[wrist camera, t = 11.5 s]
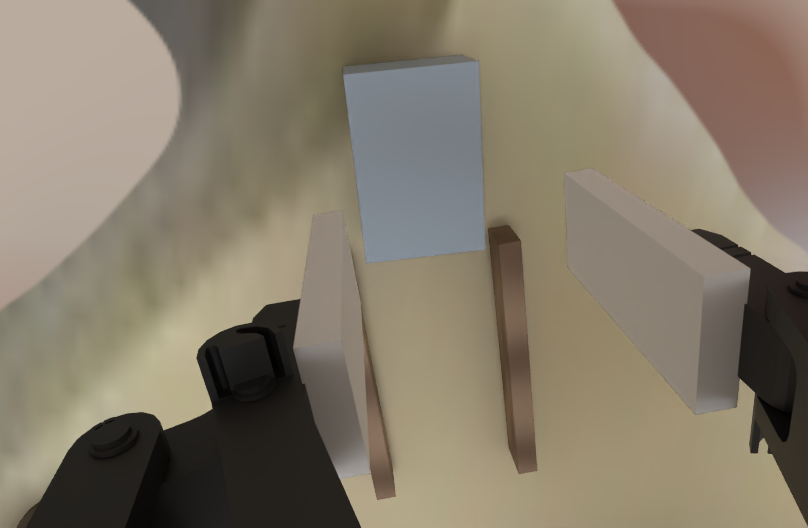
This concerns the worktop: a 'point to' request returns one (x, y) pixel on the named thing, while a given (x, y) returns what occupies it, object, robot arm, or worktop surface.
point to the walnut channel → (512, 364)
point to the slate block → (417, 156)
